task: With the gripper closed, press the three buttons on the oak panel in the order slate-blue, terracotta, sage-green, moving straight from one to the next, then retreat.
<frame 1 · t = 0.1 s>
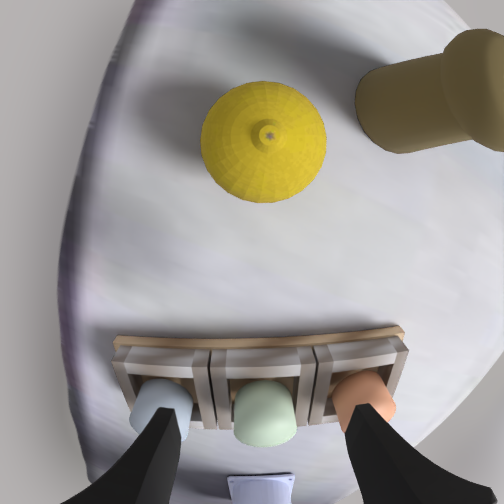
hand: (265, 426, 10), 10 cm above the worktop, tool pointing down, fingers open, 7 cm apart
button terracotta: (363, 403, 17), point 4 cm above the worktop, slide at 0.0 cm
panel: (261, 374, 21), on the worktop
lemon: (258, 146, 17), on the worktop
pepper mill: (394, 109, 16), on the worktop
button sage: (264, 414, 17), point 4 cm above the worktop, slide at 0.0 cm
button slate: (162, 412, 17), point 4 cm above the worktop, slide at 0.0 cm
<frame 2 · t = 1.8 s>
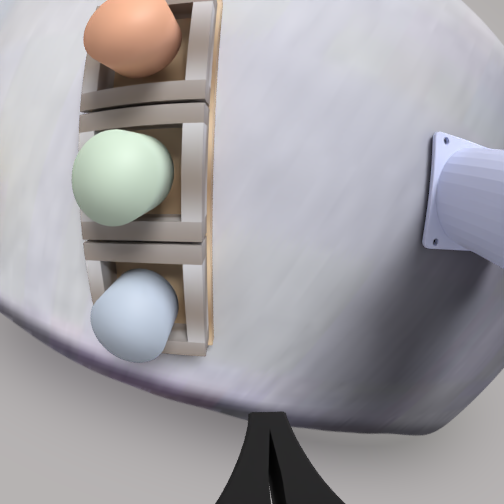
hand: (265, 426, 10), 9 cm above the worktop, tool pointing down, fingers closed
button terracotta: (134, 34, 10), point 4 cm above the worktop, slide at 0.0 cm
panel: (152, 170, 16), on the worktop
button sage: (124, 175, 12), point 4 cm above the worktop, slide at 0.0 cm
button slate: (136, 314, 14), point 4 cm above the worktop, slide at 0.0 cm
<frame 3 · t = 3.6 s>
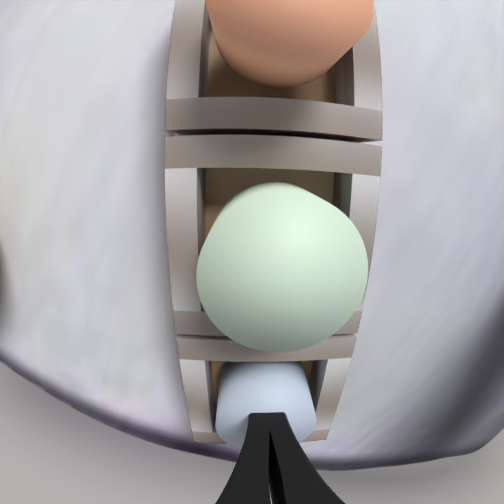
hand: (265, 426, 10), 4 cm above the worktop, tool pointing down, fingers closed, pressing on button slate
button terracotta: (284, 13, 6), point 4 cm above the worktop, slide at 0.0 cm
panel: (267, 224, 12), on the worktop
button sage: (278, 259, 8), point 4 cm above the worktop, slide at 0.0 cm
button slate: (264, 401, 11), point 3 cm above the worktop, slide at 1.3 cm, touching gripper
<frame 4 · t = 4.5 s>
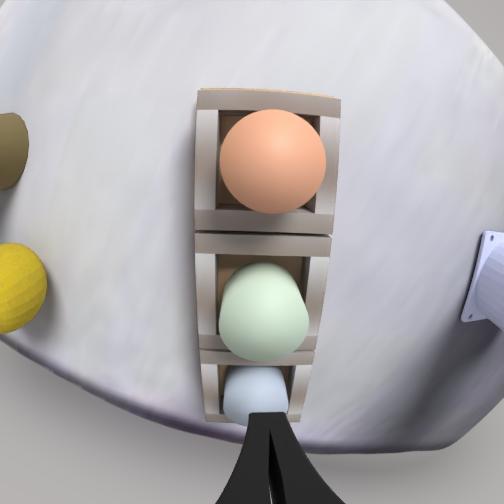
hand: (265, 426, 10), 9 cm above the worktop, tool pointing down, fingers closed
button terracotta: (270, 161, 12), point 4 cm above the worktop, slide at 0.0 cm
panel: (258, 276, 18), on the worktop
lemon: (40, 264, 18), on the worktop
pepper mill: (5, 151, 15), on the worktop
button sage: (262, 310, 14), point 4 cm above the worktop, slide at 0.0 cm
button slate: (255, 392, 17), point 3 cm above the worktop, slide at 1.3 cm
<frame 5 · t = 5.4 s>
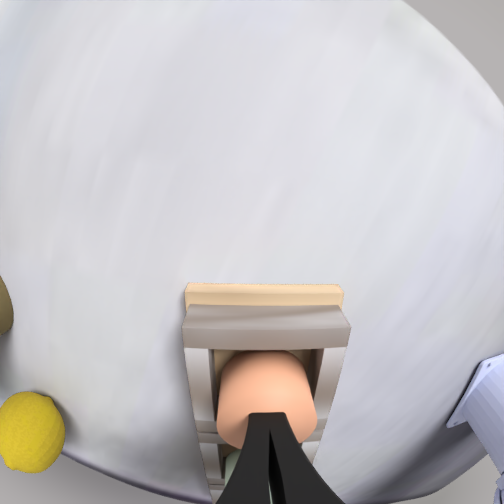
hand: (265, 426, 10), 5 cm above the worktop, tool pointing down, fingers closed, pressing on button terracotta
button terracotta: (265, 402, 11), point 4 cm above the worktop, slide at 0.6 cm, touching gripper
panel: (257, 429, 17), on the worktop
lemon: (51, 397, 17), on the worktop
button sage: (259, 480, 13), point 4 cm above the worktop, slide at 0.0 cm
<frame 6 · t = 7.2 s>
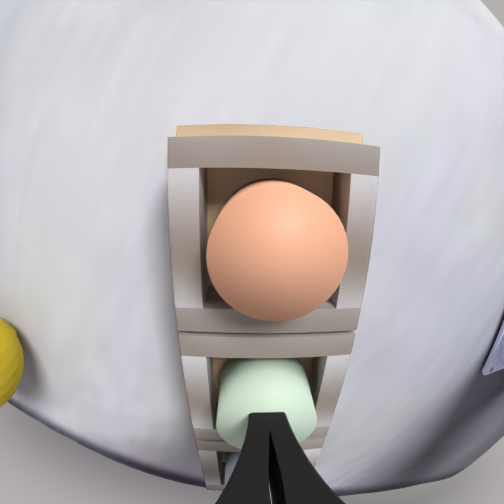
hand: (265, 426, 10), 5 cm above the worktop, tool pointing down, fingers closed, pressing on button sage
button terracotta: (274, 243, 9), point 3 cm above the worktop, slide at 1.3 cm
panel: (261, 358, 14), on the worktop
lemon: (15, 328, 14), on the worktop
button sage: (265, 401, 11), point 3 cm above the worktop, slide at 1.1 cm, touching gripper
button slate: (258, 470, 14), point 3 cm above the worktop, slide at 1.3 cm
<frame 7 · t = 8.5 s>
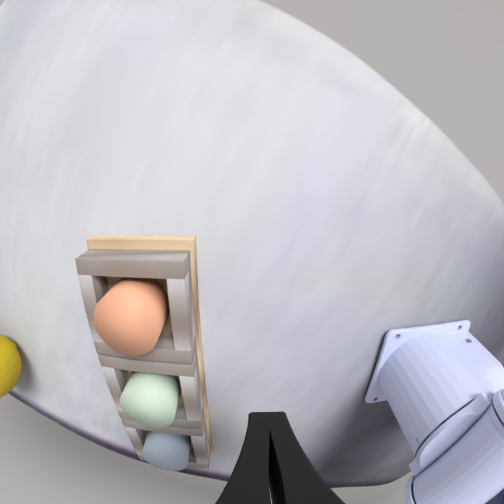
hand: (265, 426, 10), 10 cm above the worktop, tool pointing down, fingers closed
button terracotta: (132, 314, 16), point 3 cm above the worktop, slide at 1.3 cm
panel: (160, 370, 21), on the worktop
lemon: (15, 342, 21), on the worktop
button sage: (151, 396, 18), point 3 cm above the worktop, slide at 1.3 cm
button slate: (167, 447, 20), point 3 cm above the worktop, slide at 1.3 cm
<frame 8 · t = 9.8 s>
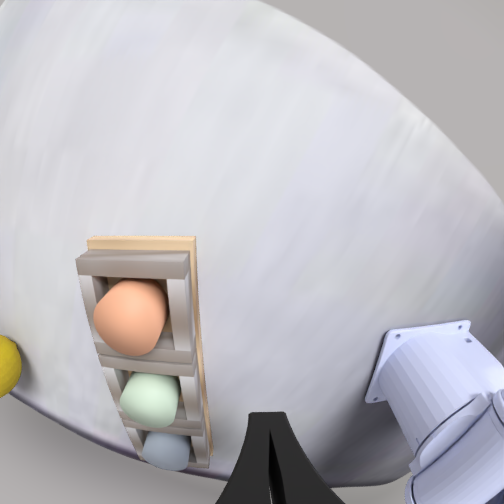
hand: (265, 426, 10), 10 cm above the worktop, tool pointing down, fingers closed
button terracotta: (132, 314, 16), point 3 cm above the worktop, slide at 1.3 cm
panel: (160, 371, 21), on the worktop
lemon: (15, 342, 21), on the worktop
button sage: (151, 396, 18), point 3 cm above the worktop, slide at 1.3 cm
button slate: (167, 447, 20), point 3 cm above the worktop, slide at 1.3 cm
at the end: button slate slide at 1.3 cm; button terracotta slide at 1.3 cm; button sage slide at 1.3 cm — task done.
